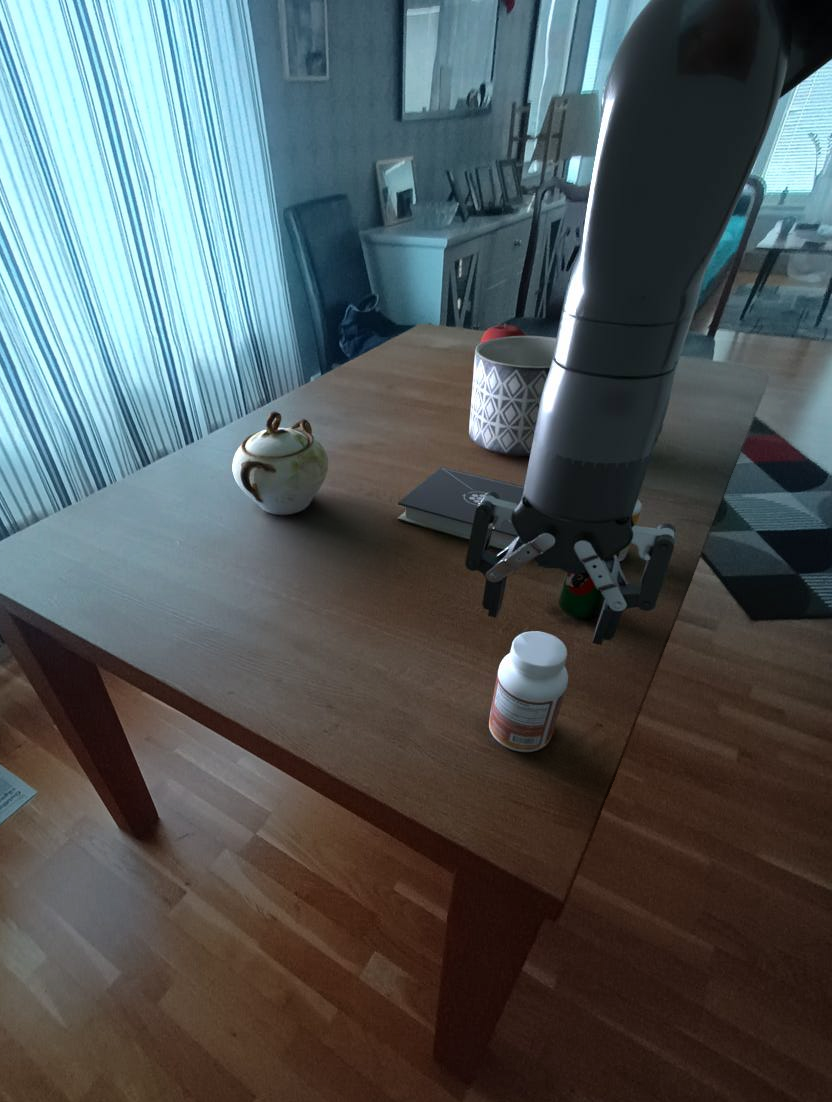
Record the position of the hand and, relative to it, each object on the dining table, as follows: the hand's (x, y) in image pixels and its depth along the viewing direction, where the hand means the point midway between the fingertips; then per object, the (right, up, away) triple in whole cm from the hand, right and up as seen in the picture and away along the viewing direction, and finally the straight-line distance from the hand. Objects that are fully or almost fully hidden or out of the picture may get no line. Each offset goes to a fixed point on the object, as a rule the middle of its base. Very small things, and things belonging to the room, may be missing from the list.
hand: (545, 624), depth 48 cm
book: (+4, +18, +41) cm, 45 cm away
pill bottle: (0, -10, +9) cm, 14 cm away
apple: (+20, +63, +92) cm, 113 cm away
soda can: (+12, +3, +23) cm, 26 cm away
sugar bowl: (-27, +21, +46) cm, 58 cm away
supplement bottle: (+19, +11, +32) cm, 39 cm away
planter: (+15, +36, +61) cm, 73 cm away
